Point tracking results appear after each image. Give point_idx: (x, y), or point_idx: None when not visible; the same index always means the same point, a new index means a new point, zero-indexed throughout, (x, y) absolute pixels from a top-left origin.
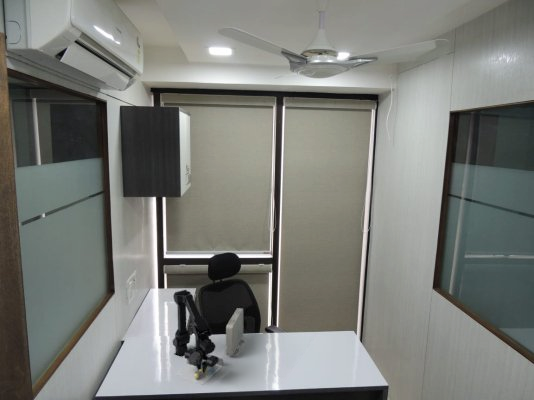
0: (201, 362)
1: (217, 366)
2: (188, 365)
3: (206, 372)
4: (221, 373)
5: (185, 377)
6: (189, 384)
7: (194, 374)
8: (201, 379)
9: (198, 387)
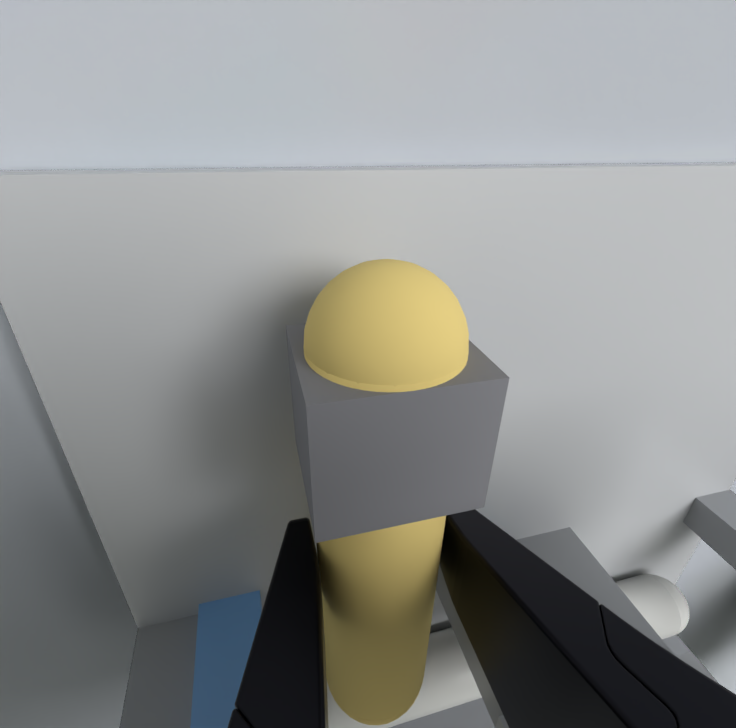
0: None
1: None
2: (695, 481)
3: None
4: (52, 683)
5: (650, 198)
6: (417, 14)
7: None
8: (225, 357)
9: (11, 10)
